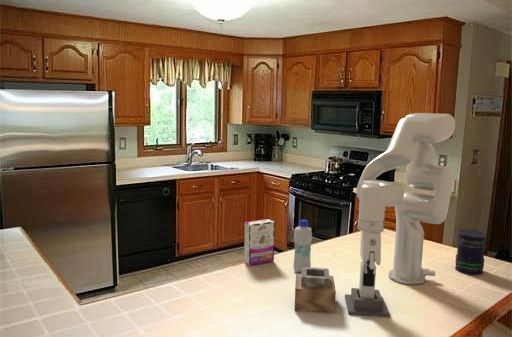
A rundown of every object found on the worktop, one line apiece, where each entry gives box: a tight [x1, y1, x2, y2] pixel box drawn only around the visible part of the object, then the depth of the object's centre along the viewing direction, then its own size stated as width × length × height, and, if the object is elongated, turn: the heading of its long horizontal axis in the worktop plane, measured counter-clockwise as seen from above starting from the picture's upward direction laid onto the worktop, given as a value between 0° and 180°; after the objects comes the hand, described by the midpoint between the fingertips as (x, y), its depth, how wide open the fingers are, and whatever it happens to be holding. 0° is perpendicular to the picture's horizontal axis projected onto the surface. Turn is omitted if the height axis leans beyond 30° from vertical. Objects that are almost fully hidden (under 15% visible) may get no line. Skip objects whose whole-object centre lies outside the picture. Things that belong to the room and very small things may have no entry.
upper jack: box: [293, 267, 337, 314], centre depth 135 cm, size 12×12×10 cm
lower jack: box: [344, 287, 391, 318], centre depth 134 cm, size 12×12×4 cm
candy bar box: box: [243, 218, 275, 266], centre depth 170 cm, size 11×5×16 cm, turn 117°
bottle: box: [293, 219, 313, 274], centre depth 161 cm, size 7×7×20 cm
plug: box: [358, 259, 377, 299], centre depth 133 cm, size 4×4×12 cm
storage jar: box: [454, 229, 487, 276], centre depth 166 cm, size 10×10×15 cm
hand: (367, 282), depth 133 cm, fingers closed on plug, 4 cm apart
